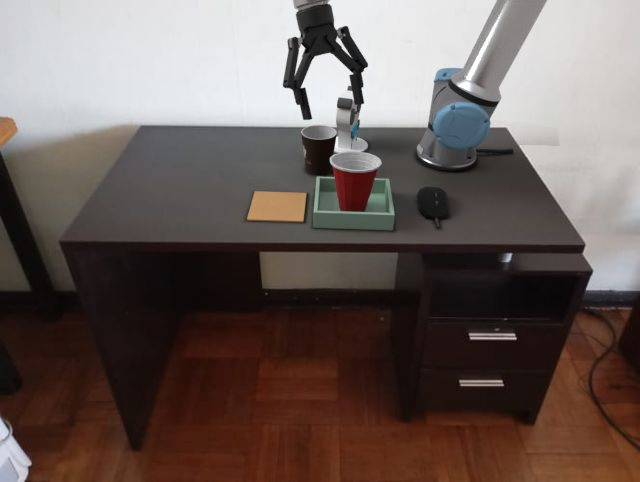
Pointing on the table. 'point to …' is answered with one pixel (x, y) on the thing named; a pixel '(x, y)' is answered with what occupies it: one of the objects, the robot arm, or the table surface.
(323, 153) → the coffee mug
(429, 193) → the gaming mouse
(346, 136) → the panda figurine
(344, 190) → the plastic cup
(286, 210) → the cork mat
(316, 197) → the tray
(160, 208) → the table surface
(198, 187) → the table surface
